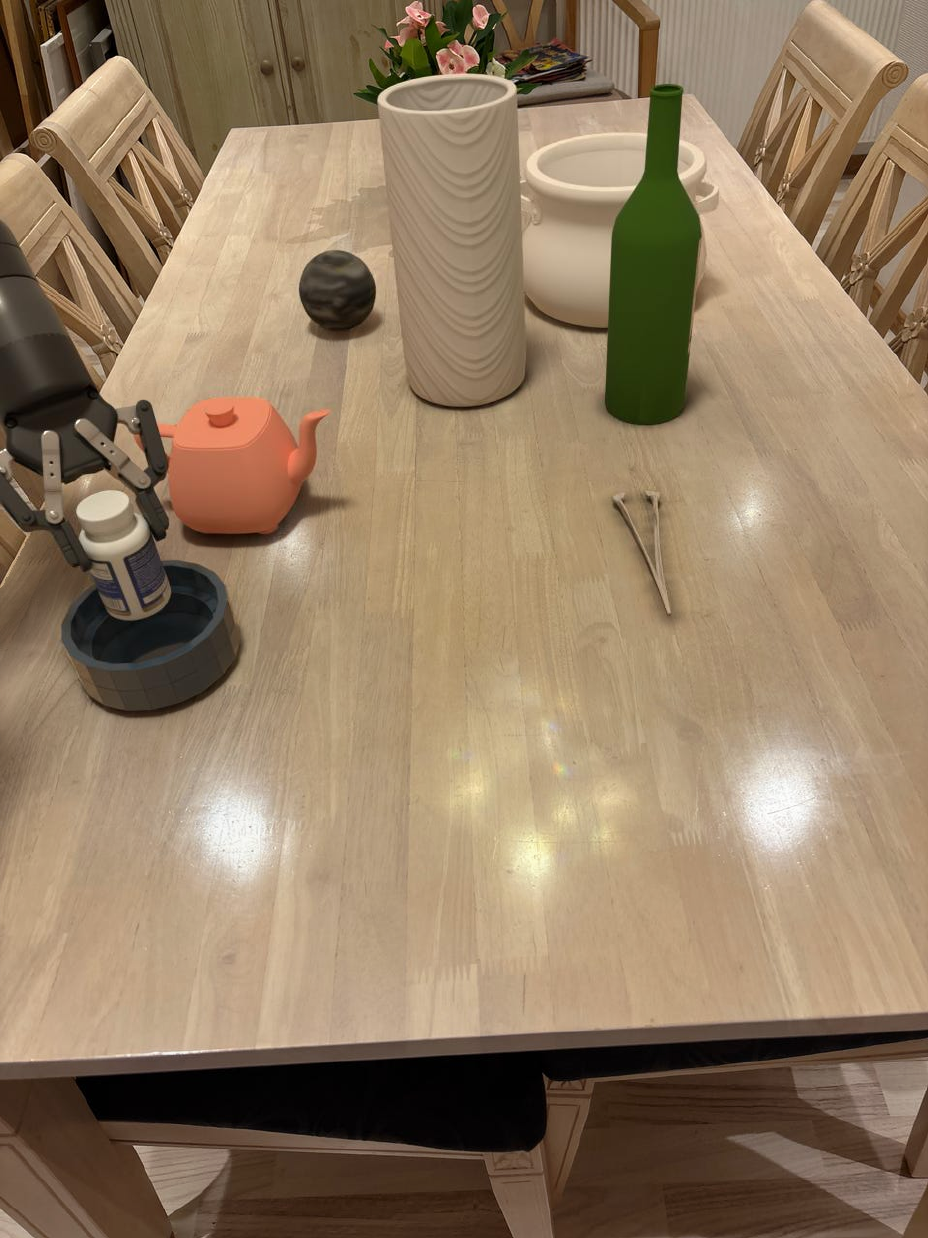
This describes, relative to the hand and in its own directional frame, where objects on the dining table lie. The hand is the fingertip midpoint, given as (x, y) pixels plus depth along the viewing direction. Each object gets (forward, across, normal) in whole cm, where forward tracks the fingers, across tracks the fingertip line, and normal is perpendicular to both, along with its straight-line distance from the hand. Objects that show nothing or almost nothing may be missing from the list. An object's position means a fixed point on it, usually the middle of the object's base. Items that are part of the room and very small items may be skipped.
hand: (125, 552), depth 74 cm
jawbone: (+19, +42, -1) cm, 46 cm away
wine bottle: (+5, +60, +13) cm, 62 cm away
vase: (-7, +48, +26) cm, 55 cm away
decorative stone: (-24, +44, +42) cm, 65 cm away
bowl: (+8, 0, +10) cm, 13 cm away
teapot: (-3, +16, +21) cm, 27 cm away
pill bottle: (+3, 0, +6) cm, 7 cm away
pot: (-12, +76, +30) cm, 83 cm away
